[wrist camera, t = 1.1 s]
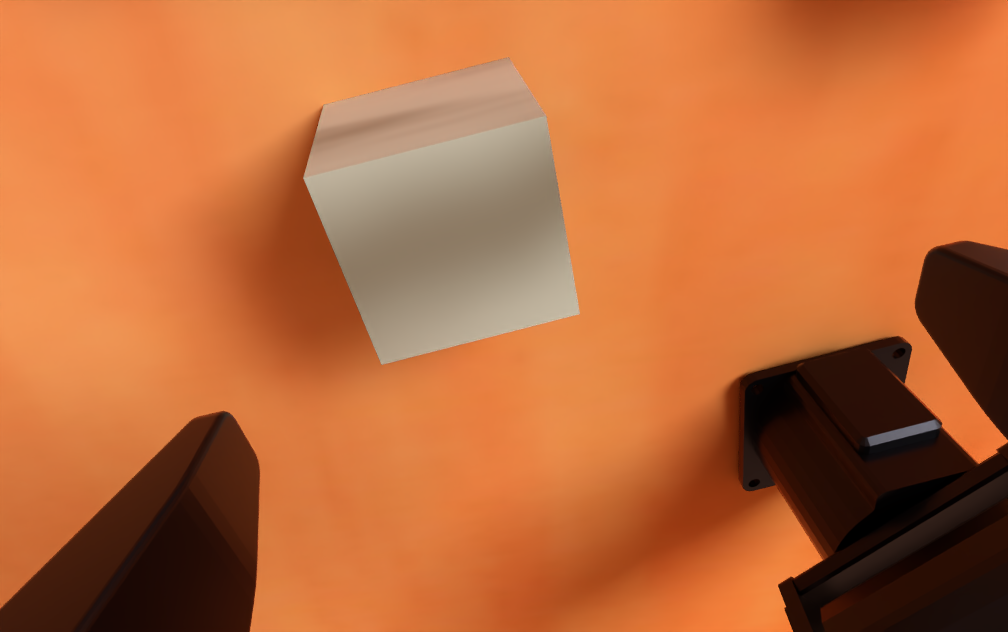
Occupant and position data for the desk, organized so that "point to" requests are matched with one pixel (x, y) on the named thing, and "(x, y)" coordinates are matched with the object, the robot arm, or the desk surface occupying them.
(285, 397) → the desk surface
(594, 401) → the desk surface
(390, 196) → the cube block
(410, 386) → the desk surface
